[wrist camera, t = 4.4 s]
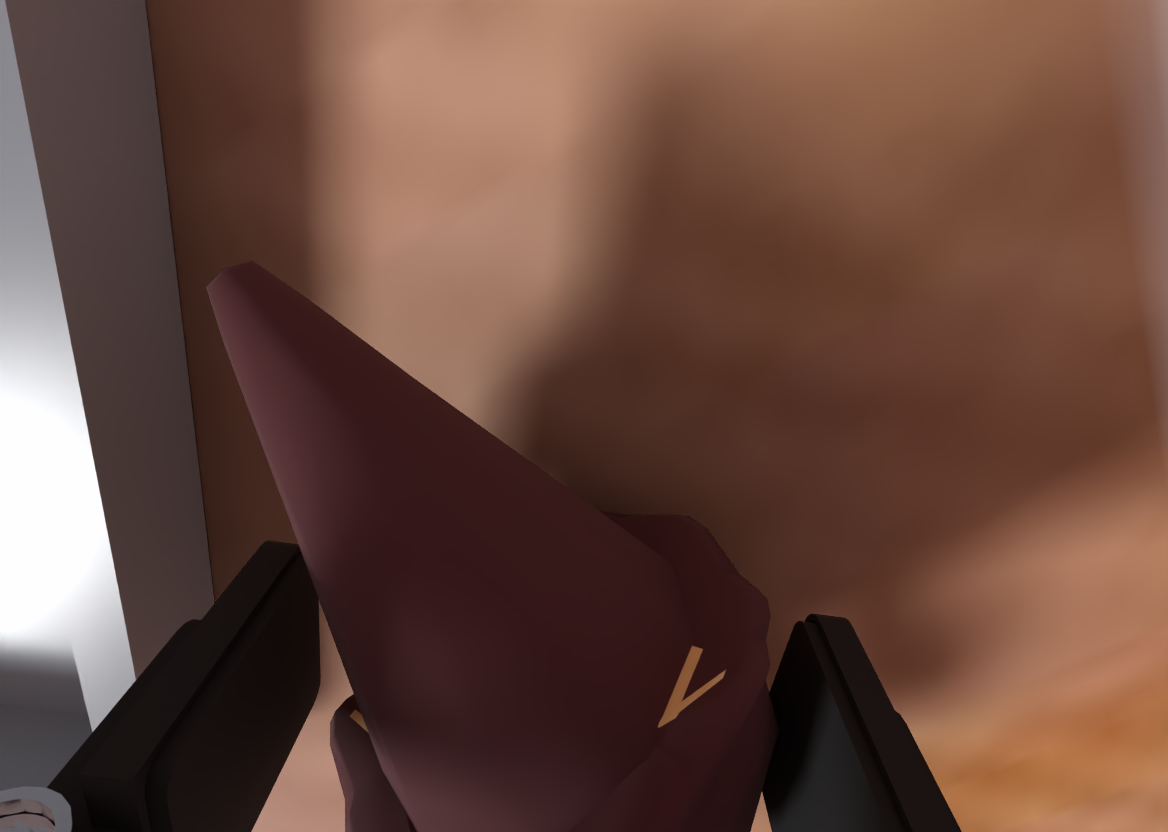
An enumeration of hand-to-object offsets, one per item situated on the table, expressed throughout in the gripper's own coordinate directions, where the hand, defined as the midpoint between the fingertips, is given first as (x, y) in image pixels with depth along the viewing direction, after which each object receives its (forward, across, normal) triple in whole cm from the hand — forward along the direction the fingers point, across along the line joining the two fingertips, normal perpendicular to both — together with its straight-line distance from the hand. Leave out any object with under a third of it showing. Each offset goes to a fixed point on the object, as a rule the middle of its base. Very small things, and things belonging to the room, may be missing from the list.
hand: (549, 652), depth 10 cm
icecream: (+3, 0, 0) cm, 3 cm away
